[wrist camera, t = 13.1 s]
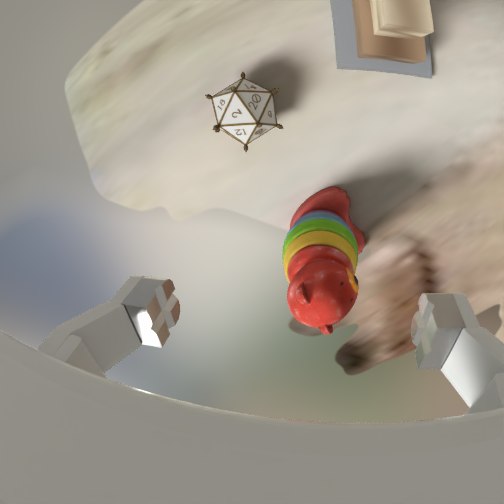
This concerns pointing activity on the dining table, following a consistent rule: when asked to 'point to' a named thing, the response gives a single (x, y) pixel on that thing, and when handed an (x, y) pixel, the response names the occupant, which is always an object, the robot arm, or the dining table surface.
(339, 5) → the base plate
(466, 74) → the dining table surface
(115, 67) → the dining table surface
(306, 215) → the stacking bear
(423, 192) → the dining table surface
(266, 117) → the game die
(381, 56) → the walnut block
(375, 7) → the oak block
